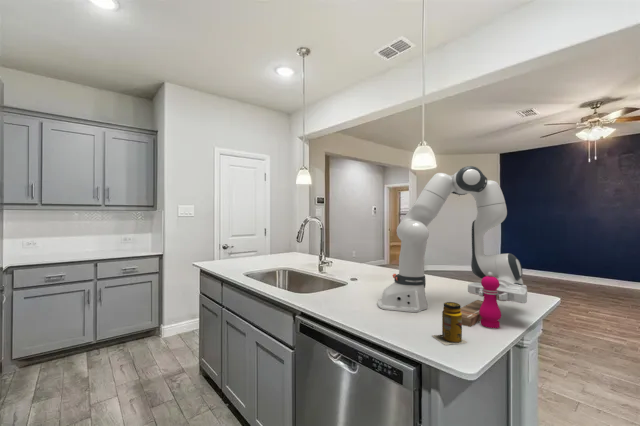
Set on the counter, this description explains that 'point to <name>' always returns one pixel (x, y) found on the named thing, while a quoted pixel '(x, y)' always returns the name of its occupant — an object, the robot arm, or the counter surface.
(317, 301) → the counter surface
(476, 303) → the board
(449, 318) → the condiment
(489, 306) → the pepper mill
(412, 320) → the counter surface
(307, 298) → the counter surface
